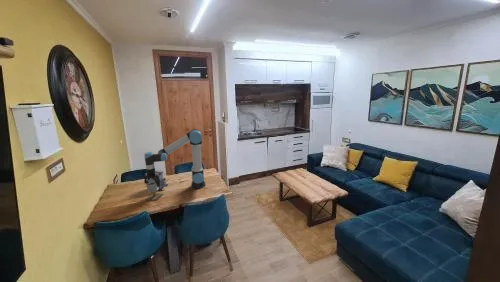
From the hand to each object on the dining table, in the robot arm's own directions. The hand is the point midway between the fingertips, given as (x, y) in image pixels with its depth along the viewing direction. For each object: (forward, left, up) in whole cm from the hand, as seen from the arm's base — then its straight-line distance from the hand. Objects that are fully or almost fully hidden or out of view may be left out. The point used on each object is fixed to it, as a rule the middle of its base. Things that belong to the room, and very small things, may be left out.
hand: (153, 189), depth 213 cm
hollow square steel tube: (0, 0, 0) cm, 0 cm away
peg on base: (0, 0, -8) cm, 8 cm away
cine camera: (+5, -19, -8) cm, 21 cm away
